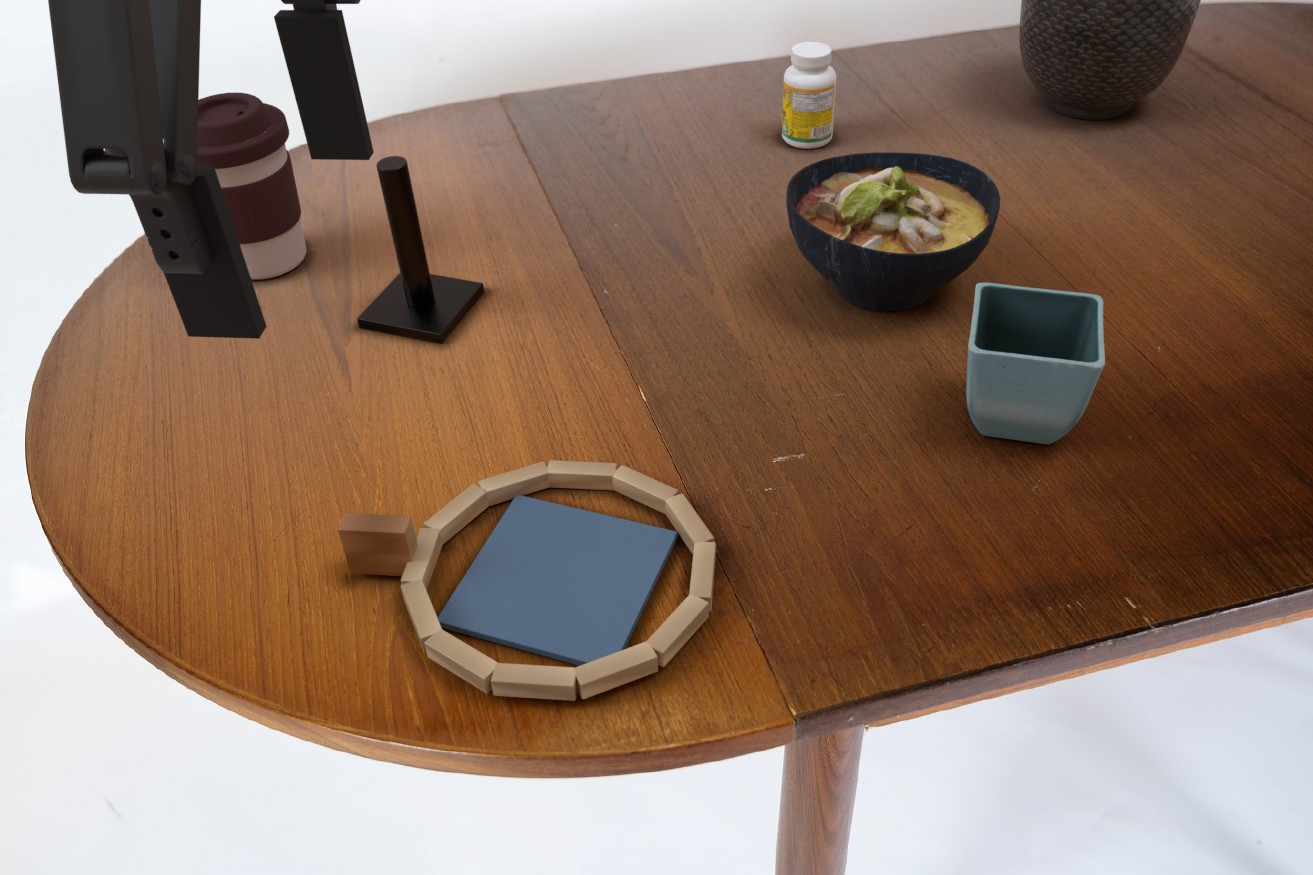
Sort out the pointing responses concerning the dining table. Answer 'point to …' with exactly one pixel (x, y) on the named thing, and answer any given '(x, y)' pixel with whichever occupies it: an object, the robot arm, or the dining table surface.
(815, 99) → the supplement bottle
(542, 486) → the segmented ring with tab
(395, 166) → the post on square base
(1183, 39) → the planter
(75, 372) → the dining table surface
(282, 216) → the coffee cup
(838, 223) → the bowl
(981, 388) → the flower pot
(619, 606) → the mat
